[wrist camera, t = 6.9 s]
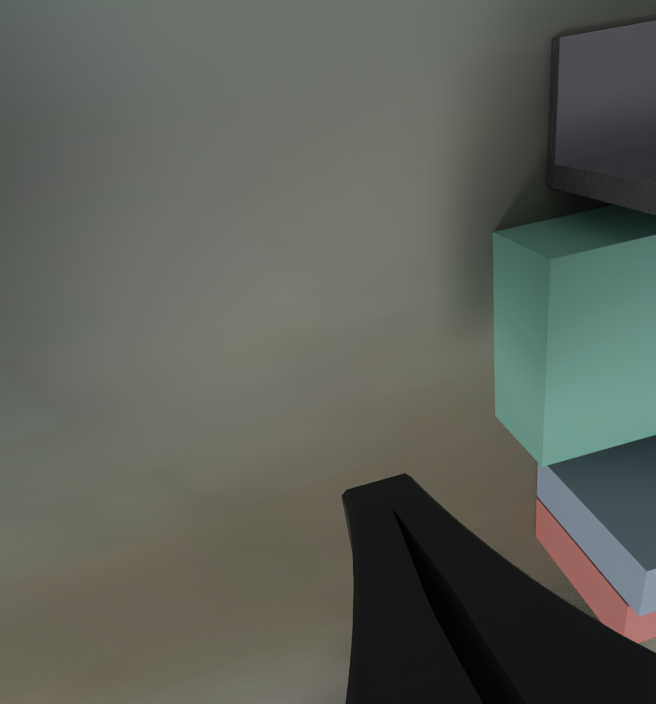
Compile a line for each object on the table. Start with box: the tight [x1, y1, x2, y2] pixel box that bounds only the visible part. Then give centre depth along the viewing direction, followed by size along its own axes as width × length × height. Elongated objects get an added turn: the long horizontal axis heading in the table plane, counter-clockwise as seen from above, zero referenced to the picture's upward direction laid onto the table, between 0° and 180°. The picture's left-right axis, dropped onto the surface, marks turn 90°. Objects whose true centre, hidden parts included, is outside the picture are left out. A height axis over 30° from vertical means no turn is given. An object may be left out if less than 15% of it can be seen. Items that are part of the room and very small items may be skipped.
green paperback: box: [493, 205, 656, 467], centre depth 15 cm, size 8×6×3 cm
